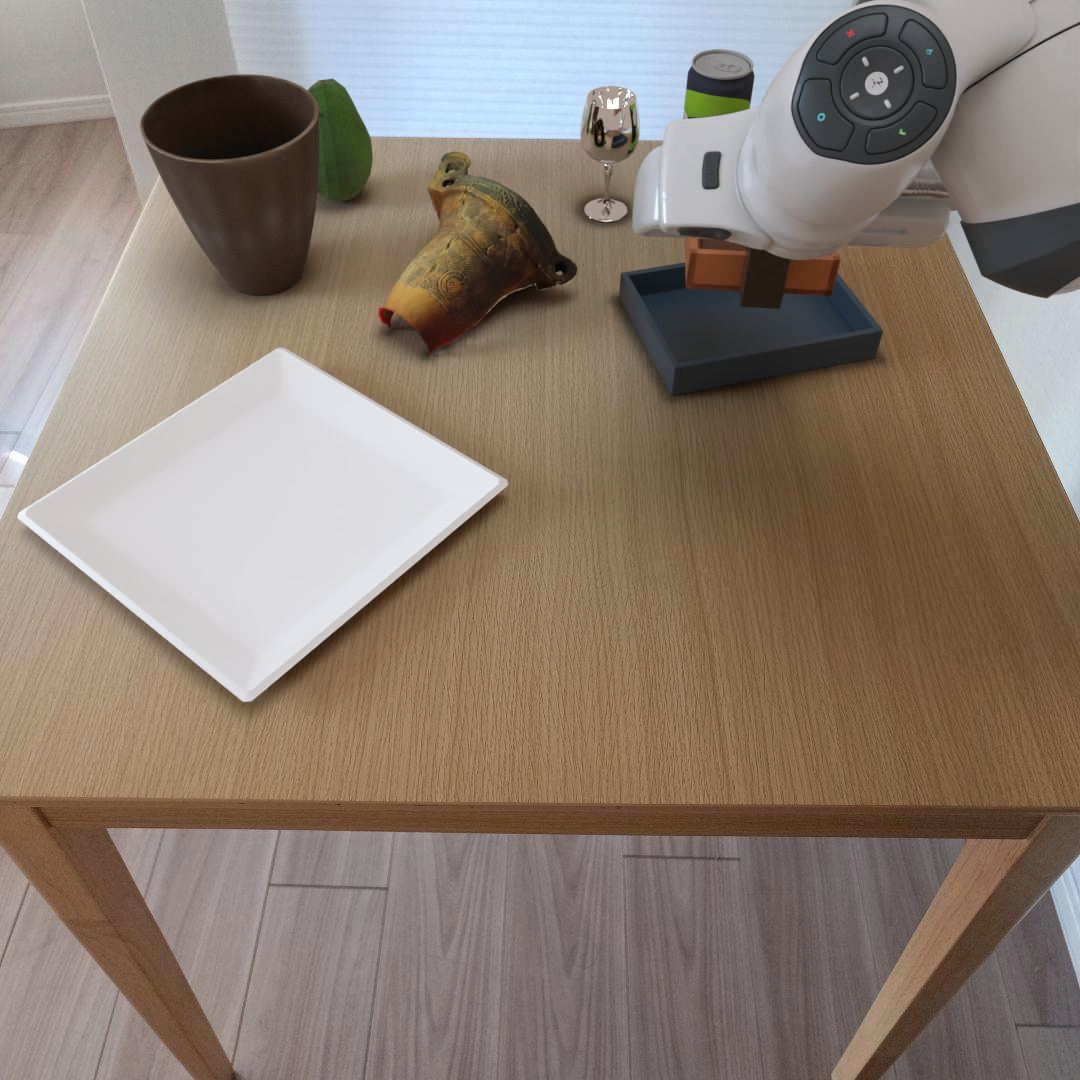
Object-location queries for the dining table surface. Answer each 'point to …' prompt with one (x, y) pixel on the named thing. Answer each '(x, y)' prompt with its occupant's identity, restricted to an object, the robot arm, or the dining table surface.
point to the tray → (741, 330)
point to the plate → (262, 516)
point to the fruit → (340, 143)
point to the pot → (473, 256)
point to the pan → (758, 274)
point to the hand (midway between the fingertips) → (770, 232)
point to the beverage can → (718, 84)
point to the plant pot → (241, 173)
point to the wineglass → (609, 141)
